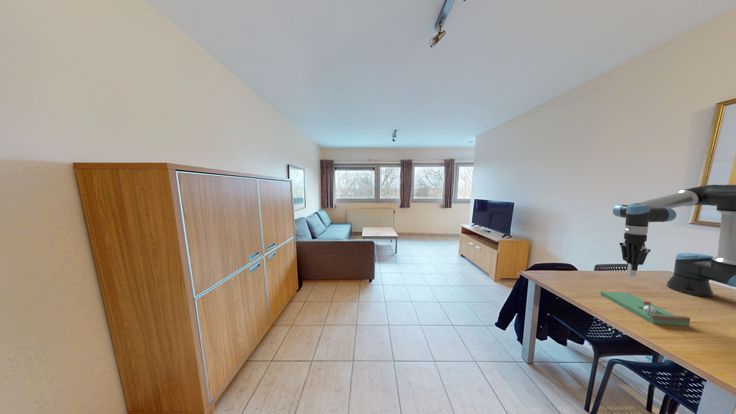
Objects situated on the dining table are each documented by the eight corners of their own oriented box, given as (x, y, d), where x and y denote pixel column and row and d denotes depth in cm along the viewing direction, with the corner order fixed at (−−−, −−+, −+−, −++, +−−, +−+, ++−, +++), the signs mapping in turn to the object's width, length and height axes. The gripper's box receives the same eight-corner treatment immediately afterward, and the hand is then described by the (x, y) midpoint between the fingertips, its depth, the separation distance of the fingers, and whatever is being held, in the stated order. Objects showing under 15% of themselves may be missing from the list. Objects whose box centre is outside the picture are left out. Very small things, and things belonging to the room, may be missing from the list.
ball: (648, 310, 106) (651, 304, 105) (657, 316, 103) (660, 310, 101) (639, 309, 107) (642, 303, 106) (648, 316, 103) (651, 309, 102)
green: (628, 296, 121) (630, 281, 120) (689, 326, 95) (692, 308, 94) (598, 294, 123) (600, 280, 122) (650, 323, 97) (652, 305, 96)
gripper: (614, 230, 117) (611, 270, 120) (641, 236, 105) (636, 280, 107) (630, 230, 116) (626, 270, 119) (658, 236, 103) (653, 280, 106)
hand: (631, 275), depth 113 cm, fingers closed
